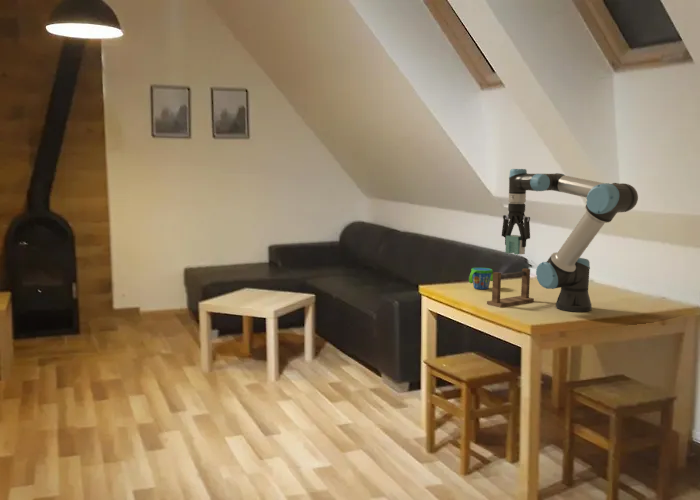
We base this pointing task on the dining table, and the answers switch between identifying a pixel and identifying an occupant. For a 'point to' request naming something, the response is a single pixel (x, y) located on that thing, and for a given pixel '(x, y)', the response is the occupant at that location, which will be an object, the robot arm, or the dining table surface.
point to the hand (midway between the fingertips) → (515, 253)
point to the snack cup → (481, 277)
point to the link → (513, 244)
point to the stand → (512, 300)
